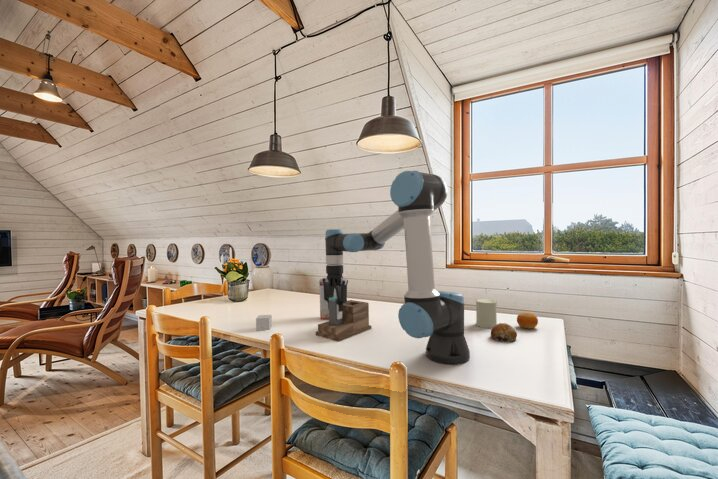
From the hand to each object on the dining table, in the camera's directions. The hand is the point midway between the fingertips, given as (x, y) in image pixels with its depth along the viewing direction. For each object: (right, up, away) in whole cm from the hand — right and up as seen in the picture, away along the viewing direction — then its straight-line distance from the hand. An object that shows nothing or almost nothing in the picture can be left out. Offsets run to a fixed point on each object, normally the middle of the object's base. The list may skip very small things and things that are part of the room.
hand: (335, 317), depth 143 cm
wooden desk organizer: (+4, -7, +4) cm, 9 cm away
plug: (0, -5, 0) cm, 5 cm away
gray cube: (-35, -8, +12) cm, 37 cm away
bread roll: (+70, -7, -8) cm, 71 cm away
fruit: (+87, -6, +6) cm, 88 cm away
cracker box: (-3, -7, +29) cm, 30 cm away
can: (+71, -6, +11) cm, 72 cm away
